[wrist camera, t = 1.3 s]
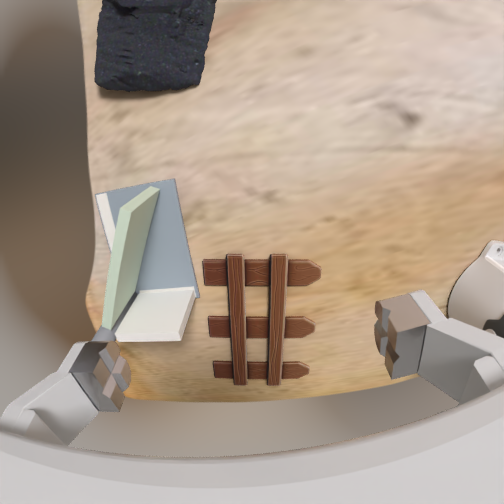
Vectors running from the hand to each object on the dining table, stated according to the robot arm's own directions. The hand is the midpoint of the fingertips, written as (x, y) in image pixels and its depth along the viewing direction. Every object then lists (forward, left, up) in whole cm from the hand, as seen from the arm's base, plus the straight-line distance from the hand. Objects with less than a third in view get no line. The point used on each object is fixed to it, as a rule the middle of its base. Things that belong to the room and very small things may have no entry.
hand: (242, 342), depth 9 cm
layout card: (+15, +8, -29) cm, 33 cm away
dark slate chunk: (+9, -22, -30) cm, 38 cm away
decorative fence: (+2, +22, -30) cm, 37 cm away
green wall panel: (+15, +7, -28) cm, 33 cm away
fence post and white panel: (+15, +15, -29) cm, 36 cm away
